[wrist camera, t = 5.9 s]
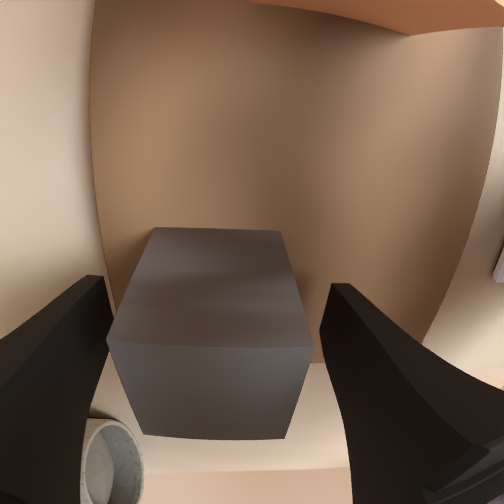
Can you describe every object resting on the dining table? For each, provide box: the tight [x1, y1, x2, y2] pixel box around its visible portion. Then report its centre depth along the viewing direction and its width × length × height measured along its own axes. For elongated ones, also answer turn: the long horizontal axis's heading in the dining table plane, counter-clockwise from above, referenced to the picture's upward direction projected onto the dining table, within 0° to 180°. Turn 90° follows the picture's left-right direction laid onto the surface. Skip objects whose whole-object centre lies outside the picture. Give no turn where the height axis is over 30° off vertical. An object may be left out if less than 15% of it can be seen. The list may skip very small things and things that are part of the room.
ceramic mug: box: [80, 418, 144, 504], centre depth 16 cm, size 11×8×8 cm
